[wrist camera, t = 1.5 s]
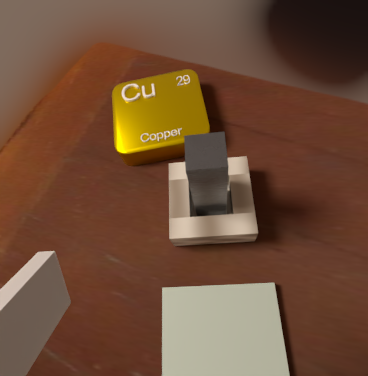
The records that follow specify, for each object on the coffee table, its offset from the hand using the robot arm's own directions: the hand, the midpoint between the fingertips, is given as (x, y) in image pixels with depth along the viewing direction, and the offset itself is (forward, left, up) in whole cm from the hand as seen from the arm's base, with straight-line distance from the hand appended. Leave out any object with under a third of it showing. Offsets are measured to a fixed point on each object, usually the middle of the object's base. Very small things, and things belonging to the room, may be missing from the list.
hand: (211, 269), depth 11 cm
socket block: (0, -13, -26) cm, 29 cm away
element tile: (+7, -29, -26) cm, 40 cm away
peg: (0, -13, -25) cm, 28 cm away
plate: (0, +5, -26) cm, 26 cm away
